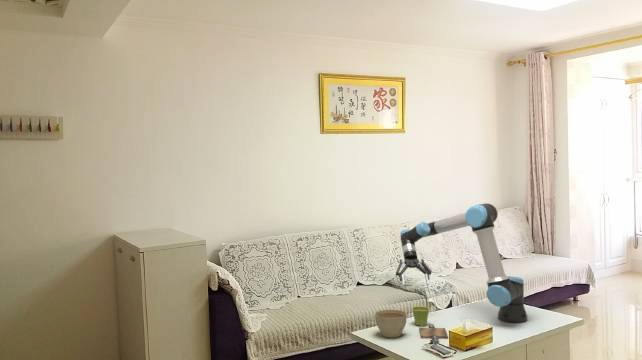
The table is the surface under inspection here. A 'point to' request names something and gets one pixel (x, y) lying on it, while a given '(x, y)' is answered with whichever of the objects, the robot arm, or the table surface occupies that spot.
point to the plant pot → (420, 315)
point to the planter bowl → (391, 322)
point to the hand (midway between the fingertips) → (415, 285)
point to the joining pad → (433, 333)
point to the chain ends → (434, 337)
